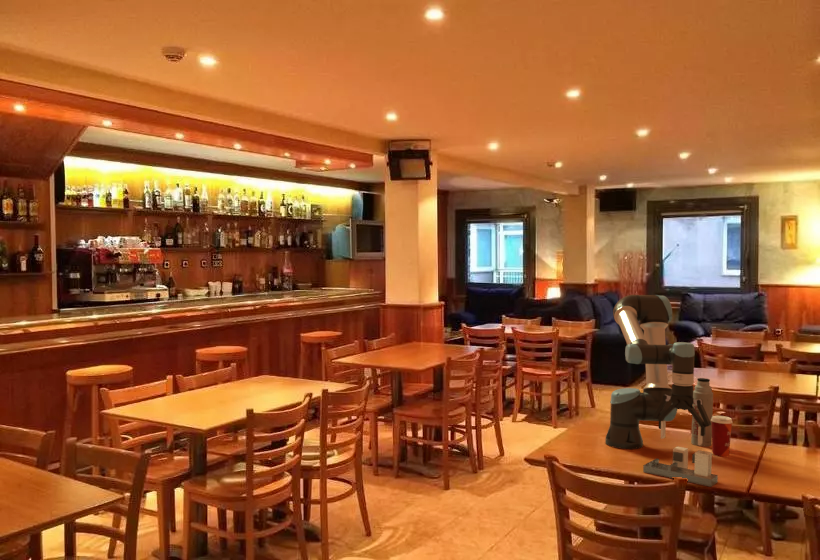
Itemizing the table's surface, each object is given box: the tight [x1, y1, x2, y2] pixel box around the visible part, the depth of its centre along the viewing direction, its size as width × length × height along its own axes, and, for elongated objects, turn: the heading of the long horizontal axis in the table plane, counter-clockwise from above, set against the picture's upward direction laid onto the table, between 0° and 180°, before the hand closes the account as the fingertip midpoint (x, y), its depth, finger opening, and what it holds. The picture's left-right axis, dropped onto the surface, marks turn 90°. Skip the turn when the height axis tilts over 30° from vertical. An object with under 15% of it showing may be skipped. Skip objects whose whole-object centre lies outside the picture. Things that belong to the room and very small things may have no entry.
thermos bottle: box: [690, 377, 714, 448], centre depth 296 cm, size 8×8×28 cm
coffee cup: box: [711, 415, 734, 458], centre depth 281 cm, size 8×8×15 cm
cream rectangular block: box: [672, 446, 689, 469], centre depth 260 cm, size 6×4×8 cm
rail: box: [642, 449, 719, 488], centre depth 251 cm, size 24×7×10 cm, turn 50°
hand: (681, 441), depth 259 cm, fingers open, 13 cm apart
